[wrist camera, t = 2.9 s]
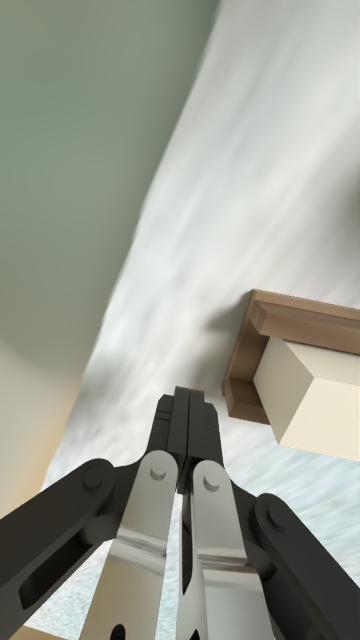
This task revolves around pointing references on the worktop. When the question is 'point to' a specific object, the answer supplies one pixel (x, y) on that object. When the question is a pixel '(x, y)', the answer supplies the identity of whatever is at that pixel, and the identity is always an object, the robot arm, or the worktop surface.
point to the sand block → (311, 397)
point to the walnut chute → (286, 323)
